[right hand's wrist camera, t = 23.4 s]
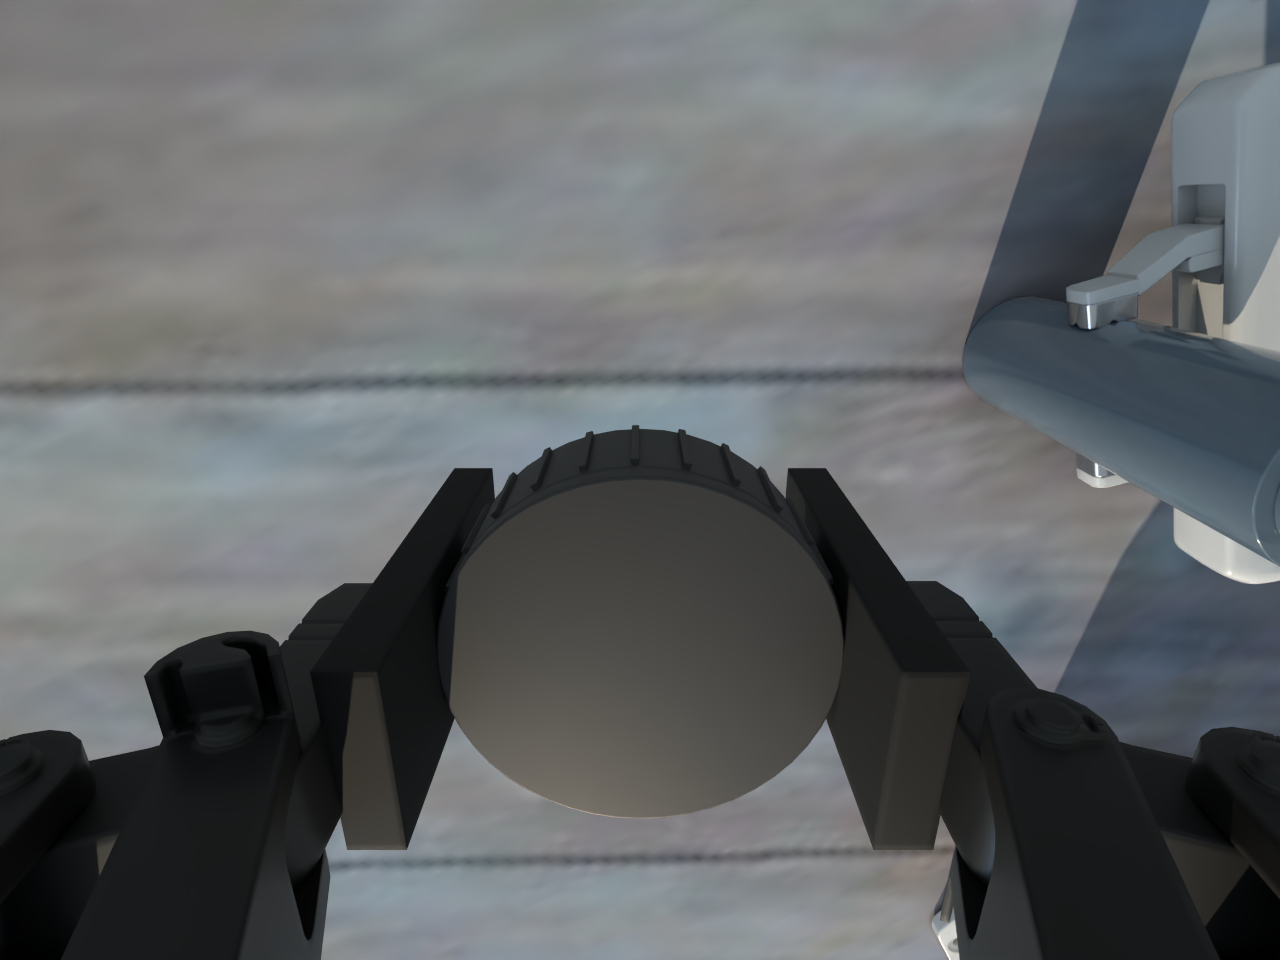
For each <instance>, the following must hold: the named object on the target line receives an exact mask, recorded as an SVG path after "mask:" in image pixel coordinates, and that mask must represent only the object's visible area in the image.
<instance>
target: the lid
mask: <svg viewBox="0 0 1280 960" xmlns="http://www.w3.org/2000/svg"><path fill="white" fill-rule="evenodd" d="M461 552H463V553H462V555H461V557H460V559H459V561H458V563H457V565H456V566H455V568H454V570H453V572H452V574H451V576H450V578H449V580H448V582H447V584H446V586H445V589H444V592H446V596H445V598H444V602H443V605H442V609H441V613H440V617H439V620H438V630H437V640H436V648H437V659H438V668H439V675H440V680H441V685H442V689H443V692H444V694H445V697H446V700H447V702H448V705H449V708H450V710H451V712H452V714H453V715H454V717H455V719H456V721H457V723H458V725H459V726H460V728H461V730H462V731H463V732H464V734H465V735H466V736H467V738H468V739H469V740H470V742H471V743H472V745H473V746H474V747H475V748H476V749H477V750H478V751H479V752H480V753H481V754H482V755H483V756H484V757H485V759H486V760H487V761H488V762H489V763H490V764H492V765H493V766H494V767H495V768H497V769H498V770H499V771H500V772H502V773H503V774H504V775H505V776H506V777H508V778H509V779H511V780H512V781H514V782H516V783H517V784H519V785H520V786H522V787H523V788H525V789H527V790H528V791H531V792H533V793H535V794H537V795H539V796H541V797H543V798H545V799H547V800H549V801H552V802H555V803H557V804H560V805H563V806H566V807H568V808H571V809H575V810H579V811H583V812H587V813H591V814H597V815H604V816H610V817H617V818H639V819H643V818H662V817H671V816H677V815H684V814H690V813H694V812H698V811H701V810H705V809H709V808H713V807H715V806H718V805H721V804H724V803H726V802H729V801H732V800H734V799H736V798H738V797H740V796H742V795H744V794H746V793H748V792H750V791H752V790H754V789H756V788H758V787H759V786H761V785H762V784H764V783H765V782H767V781H768V780H770V779H772V778H773V777H775V776H776V775H777V774H778V773H779V772H781V771H782V770H783V769H784V768H786V767H787V766H788V765H789V764H790V763H792V762H793V761H794V760H795V759H796V757H797V756H798V755H799V754H800V753H801V752H802V751H803V750H804V749H805V748H806V747H807V746H808V745H809V743H810V742H811V740H812V739H813V738H814V736H815V735H816V734H817V732H818V731H819V729H820V728H821V726H822V725H823V723H824V721H825V719H826V717H827V715H828V713H829V712H830V710H831V708H832V705H833V702H834V700H835V697H836V694H837V691H838V689H839V685H840V679H841V672H842V664H843V656H844V644H845V640H844V631H843V622H842V617H841V613H840V610H839V606H838V602H837V599H836V596H835V594H834V591H833V589H832V587H831V584H834V580H833V577H832V575H831V573H830V572H829V570H828V568H827V566H826V564H825V562H824V560H823V558H822V556H821V554H820V552H819V550H818V548H817V547H816V545H815V543H814V541H813V539H812V537H811V535H810V533H809V531H808V529H807V527H806V525H805V523H804V521H803V519H802V517H801V516H800V514H799V512H798V510H797V508H796V506H795V504H794V502H793V500H792V499H791V498H790V497H789V498H787V499H785V497H784V496H783V495H782V494H781V493H780V491H779V490H778V489H777V488H776V487H775V486H774V485H773V483H772V482H771V481H770V479H769V477H768V475H767V473H766V471H765V470H764V469H763V468H762V467H761V466H760V467H759V468H758V469H756V468H755V467H754V466H753V465H751V464H750V463H748V462H747V461H745V460H744V459H742V458H741V457H739V456H737V455H736V454H734V453H733V452H731V451H730V449H729V446H728V445H726V444H724V443H723V444H722V445H721V447H720V446H718V445H716V444H714V443H712V442H709V441H706V440H703V439H700V438H696V437H693V436H690V435H686V431H685V430H681V429H679V430H678V433H676V432H670V431H665V430H650V429H639V425H633V426H632V429H631V430H616V431H610V432H605V433H600V434H595V435H594V434H593V431H591V432H587V433H586V436H585V437H584V438H581V439H578V440H575V441H572V442H569V443H567V444H565V445H563V446H561V447H559V448H556V449H554V450H551V448H550V447H549V448H547V449H545V450H544V452H543V455H542V457H540V458H539V459H537V460H536V461H534V462H533V463H531V464H530V465H528V466H527V467H526V468H525V469H523V470H522V471H521V472H520V473H519V474H518V475H516V474H515V473H514V472H513V473H512V474H511V475H510V476H509V478H508V480H507V482H506V484H505V486H504V488H503V490H502V491H501V492H500V494H499V495H498V496H497V497H496V499H495V500H494V502H493V503H492V505H491V506H490V505H488V504H486V505H485V506H484V508H483V510H482V512H481V514H480V516H479V518H478V519H477V521H476V523H475V525H474V527H473V529H472V531H471V533H470V535H469V537H468V539H467V540H466V542H465V544H464V546H463V548H462V550H461Z"/></svg>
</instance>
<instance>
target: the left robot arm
mask: <svg viewBox="0 0 1280 960" xmlns="http://www.w3.org/2000/svg"><path fill="white" fill-rule="evenodd" d="M1171 177H1172V227H1170V228H1166V229H1163V230H1159V231H1156V232H1153V233H1149V234H1147V235H1146V236H1145V237H1144V238H1143V239H1142V240H1141V241H1140V242H1139V243H1138V244H1137V245H1136V246H1134V247H1133V248H1132V249H1131V250H1130V251H1129V252H1128V253H1127V254H1126V255H1125V256H1124V257H1123V258H1121V259H1120V260H1119V261H1118V262H1117V263H1116V264H1115V265H1114V266H1113V267H1112V268H1111V269H1109V270H1108V271H1107V275H1105V276H1101V277H1098V278H1094V279H1091V280H1087V281H1084V282H1080V283H1077V284H1073V285H1070V286H1068V287H1066V296H1067V313H1068V324H1069V325H1071V326H1075V325H1078V326H1079V327H1080V328H1082V329H1096V328H1101V327H1104V326H1106V325H1109V324H1110V323H1111V322H1112V321H1117V322H1121V321H1127V320H1130V319H1134V318H1137V317H1138V296H1140V295H1141V294H1143V293H1144V292H1145V291H1146V290H1148V289H1149V288H1150V287H1151V286H1153V285H1154V284H1155V283H1156V282H1158V281H1159V280H1160V279H1161V278H1163V277H1164V276H1165V275H1167V274H1168V273H1169V272H1170V271H1172V327H1174V328H1178V329H1183V330H1187V331H1192V332H1196V333H1200V334H1205V335H1209V336H1214V337H1218V338H1222V339H1227V340H1231V341H1236V342H1240V343H1244V344H1249V345H1253V346H1258V347H1262V348H1267V349H1271V350H1275V351H1280V62H1276V63H1272V64H1267V65H1263V66H1259V67H1255V68H1251V69H1247V70H1243V71H1239V72H1235V73H1231V74H1227V75H1223V76H1219V77H1215V78H1212V79H1208V80H1205V81H1203V82H1201V83H1200V84H1198V85H1197V86H1196V87H1195V88H1194V90H1193V91H1192V92H1191V93H1190V94H1189V95H1188V96H1187V97H1186V98H1185V99H1184V100H1183V102H1182V103H1181V104H1180V105H1179V106H1178V107H1177V109H1176V110H1175V111H1174V113H1173V116H1172V120H1171ZM1076 465H1077V476H1078V478H1079V479H1081V480H1083V481H1084V482H1086V483H1087V484H1089V485H1091V486H1092V487H1098V488H1107V487H1111V486H1115V485H1119V484H1123V483H1127V482H1128V481H1126V480H1124V479H1123V478H1121V477H1119V476H1117V475H1115V474H1114V473H1112V472H1110V471H1108V470H1107V469H1105V468H1103V467H1101V466H1099V465H1098V464H1096V463H1094V462H1092V461H1091V460H1089V459H1087V458H1085V457H1083V456H1082V455H1080V454H1078V453H1076ZM1173 534H1174V541H1175V543H1176V545H1177V546H1178V547H1179V548H1180V549H1182V550H1183V551H1184V552H1186V553H1187V554H1189V555H1190V556H1192V557H1193V558H1195V559H1196V560H1198V561H1199V562H1200V563H1202V564H1204V565H1205V566H1207V567H1209V568H1210V569H1212V570H1214V571H1216V572H1218V573H1219V574H1221V575H1223V576H1226V577H1228V578H1230V579H1233V580H1236V581H1239V582H1242V583H1248V584H1262V583H1269V582H1275V581H1280V567H1279V566H1277V565H1276V564H1274V563H1272V562H1270V561H1269V560H1267V559H1265V558H1263V557H1261V556H1260V555H1258V554H1256V553H1254V552H1253V551H1251V550H1249V549H1247V548H1245V547H1244V546H1242V545H1240V544H1238V543H1237V542H1235V541H1233V540H1231V539H1229V538H1228V537H1226V536H1224V535H1222V534H1220V533H1219V532H1217V531H1215V530H1213V529H1212V528H1210V527H1208V526H1206V525H1204V524H1203V523H1201V522H1199V521H1197V520H1196V519H1194V518H1192V517H1190V516H1188V515H1187V514H1185V513H1183V512H1181V511H1180V510H1178V509H1176V508H1174V527H1173ZM940 916H941V911H940V912H938V913H937V914H936V915H935V916H934V918H933V920H932V928H933V930H934V931H935V933H936V935H937V937H938V939H939V941H940V943H941V945H942V947H943V949H944V951H945V953H946V955H947V956H948V958H949V960H960V959H959V950H958V942H957V933H956V925H955V916H954V907H953V910H952V915H951V919H950V923H948V922H944V921H940Z"/></svg>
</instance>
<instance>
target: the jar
mask: <svg viewBox="0 0 1280 960" xmlns="http://www.w3.org/2000/svg"><path fill="white" fill-rule="evenodd" d="M963 372H964V376H965V379H966V381H967V384H968V385H969V387H970V388H971V390H972V391H973V392H974V393H975V394H976V395H977V396H978V397H979V398H980V399H982V400H984V401H985V402H987V403H989V404H991V405H993V406H994V407H996V408H998V409H1000V410H1002V411H1003V412H1005V413H1007V414H1009V415H1010V416H1012V417H1014V418H1016V419H1018V420H1019V421H1021V422H1023V423H1025V424H1026V425H1028V426H1030V427H1032V428H1034V429H1035V430H1037V431H1039V432H1041V433H1042V434H1044V435H1046V436H1048V437H1050V438H1051V439H1053V440H1055V441H1057V442H1058V443H1060V444H1062V445H1064V446H1066V447H1067V448H1069V449H1071V450H1073V451H1074V452H1076V453H1078V454H1080V455H1082V456H1083V457H1085V458H1087V459H1089V460H1091V461H1092V462H1094V463H1096V464H1098V465H1099V466H1101V467H1103V468H1105V469H1107V470H1108V471H1110V472H1112V473H1114V474H1115V475H1117V476H1119V477H1121V478H1123V479H1124V480H1126V481H1128V482H1130V483H1131V484H1133V485H1135V486H1137V487H1139V488H1140V489H1142V490H1144V491H1146V492H1147V493H1149V494H1151V495H1153V496H1155V497H1156V498H1158V499H1160V500H1162V501H1164V502H1165V503H1167V504H1169V505H1171V506H1172V507H1174V508H1176V509H1178V510H1180V511H1181V512H1183V513H1185V514H1187V515H1188V516H1190V517H1192V518H1194V519H1196V520H1197V521H1199V522H1201V523H1203V524H1204V525H1206V526H1208V527H1210V528H1212V529H1213V530H1215V531H1217V532H1219V533H1220V534H1222V535H1224V536H1226V537H1228V538H1229V539H1231V540H1233V541H1235V542H1237V543H1238V544H1240V545H1242V546H1244V547H1245V548H1247V549H1249V550H1251V551H1253V552H1254V553H1256V554H1258V555H1260V556H1261V557H1263V558H1265V559H1267V560H1269V561H1270V562H1272V563H1274V564H1276V565H1277V566H1279V567H1280V351H1275V350H1271V349H1267V348H1262V347H1258V346H1253V345H1249V344H1244V343H1240V342H1236V341H1231V340H1227V339H1222V338H1218V337H1214V336H1209V335H1205V334H1200V333H1196V332H1192V331H1187V330H1183V329H1178V328H1174V327H1170V326H1165V325H1161V324H1156V323H1152V322H1148V321H1143V320H1139V319H1130V320H1127V321H1121V322H1117V321H1112V322H1111V323H1110V324H1109V325H1106V326H1104V327H1101V328H1096V329H1082V328H1080V327H1079V326H1078V325H1075V326H1071V325H1069V324H1068V313H1067V303H1064V302H1060V301H1055V300H1051V299H1046V298H1042V297H1036V296H1024V297H1018V298H1014V299H1011V300H1008V301H1005V302H1003V303H1001V304H999V305H998V306H996V307H994V308H993V309H992V310H990V311H989V312H988V313H986V314H985V315H984V316H983V317H982V318H981V319H980V320H979V322H978V323H977V324H976V325H975V327H974V328H973V330H972V331H971V333H970V335H969V337H968V339H967V342H966V344H965V348H964V352H963Z"/></svg>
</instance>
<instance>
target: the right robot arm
mask: <svg viewBox="0 0 1280 960" xmlns="http://www.w3.org/2000/svg"><path fill="white" fill-rule="evenodd" d="M789 497H790V498H791V499H792V500H793V502H794V504H795V506H796V508H797V510H798V512H799V514H800V516H801V517H802V519H803V521H804V523H805V525H806V527H807V529H808V531H809V533H810V535H811V537H812V539H813V541H814V543H815V545H816V547H817V548H818V550H819V552H820V554H821V556H822V558H823V560H824V562H825V564H826V566H827V568H828V570H829V572H830V573H831V575H832V577H833V580H834V584H831V587H832V589H833V591H834V594H835V596H836V599H837V602H838V606H839V610H840V613H841V617H842V622H843V631H844V640H845V644H844V656H843V664H842V672H841V679H840V685H839V689H838V691H837V694H836V697H835V700H834V702H833V705H832V708H831V710H830V712H829V713H828V715H827V717H826V720H827V723H828V725H829V728H830V731H831V734H832V736H833V739H834V742H835V745H836V747H837V750H838V753H839V756H840V758H841V761H842V764H843V767H844V769H845V772H846V775H847V778H848V780H849V783H850V786H851V789H852V791H853V794H854V797H855V800H856V802H857V805H858V808H859V811H860V814H861V816H862V819H863V822H864V825H865V827H866V830H867V833H868V836H869V838H870V841H871V844H872V847H873V849H874V850H933V848H934V844H935V839H936V834H937V829H938V825H939V820H940V815H941V816H942V818H943V820H944V822H945V824H946V826H947V828H948V830H949V833H950V835H951V837H952V839H953V841H954V843H955V845H956V846H955V850H954V854H953V859H952V863H951V868H950V872H949V877H948V881H947V885H946V890H945V894H944V899H943V903H942V909H941V916H940V921H944V922H948V923H950V919H951V915H952V910H953V907H954V916H955V925H956V933H957V942H958V950H959V959H960V960H1280V737H1279V736H1277V737H1276V736H1273V735H1272V734H1268V733H1264V732H1261V731H1255V730H1249V729H1242V728H1236V727H1227V728H1218V729H1211V730H1210V731H1209V732H1207V733H1206V734H1205V735H1203V736H1202V737H1201V738H1200V741H1199V743H1198V746H1197V749H1196V752H1195V754H1194V757H1193V758H1189V757H1184V756H1180V755H1175V754H1170V753H1166V752H1161V751H1156V750H1151V749H1147V748H1142V747H1137V746H1133V745H1129V744H1125V743H1122V742H1119V740H1118V738H1117V736H1116V735H1115V734H1114V732H1113V731H1112V730H1111V728H1110V727H1109V726H1108V724H1107V723H1106V722H1105V721H1104V720H1103V719H1102V718H1100V717H1099V716H1098V715H1096V714H1095V713H1094V712H1092V711H1091V710H1090V709H1088V708H1087V707H1086V706H1084V705H1082V704H1080V703H1077V702H1075V701H1073V700H1071V699H1069V698H1067V697H1065V696H1063V695H1059V694H1056V693H1052V692H1048V691H1045V690H1041V689H1038V688H1037V687H1036V686H1035V685H1034V683H1033V682H1032V681H1031V680H1030V679H1029V677H1028V676H1027V675H1026V674H1025V673H1024V671H1023V670H1022V669H1021V668H1020V667H1019V665H1018V664H1017V663H1016V662H1015V660H1014V659H1013V658H1012V657H1011V656H1010V654H1009V653H1008V652H1007V651H1006V650H1005V648H1004V647H1003V646H1002V645H1001V644H1000V642H999V641H998V640H997V639H996V638H993V637H992V633H991V631H990V630H989V629H988V628H987V627H986V625H985V624H984V623H983V622H982V621H979V617H978V616H977V614H976V613H975V612H974V611H973V610H972V608H971V607H970V606H969V605H968V604H967V602H966V601H965V600H964V599H963V598H962V597H961V596H959V595H957V594H956V593H954V592H953V591H951V590H949V589H948V588H946V587H945V586H943V585H942V584H940V583H938V582H937V581H906V580H905V579H904V578H903V576H902V575H901V573H900V572H899V571H898V569H897V568H896V566H895V565H894V564H893V562H892V561H891V559H890V558H889V557H888V555H887V554H886V552H885V551H884V550H883V548H882V547H881V545H880V544H879V543H878V541H877V540H876V538H875V537H874V535H873V534H872V533H871V531H870V530H869V528H868V527H867V526H866V524H865V523H864V521H863V520H862V519H861V517H860V516H859V514H858V513H857V512H856V510H855V509H854V507H853V506H852V505H851V503H850V502H849V500H848V499H847V497H846V496H845V495H844V493H843V492H842V490H841V489H840V488H839V486H838V485H837V483H836V482H835V481H834V479H833V478H832V476H831V475H830V474H829V472H828V471H827V469H826V468H788V476H787V488H786V499H787V498H789ZM494 500H495V494H494V482H493V470H492V468H455V469H454V470H453V471H452V473H451V474H450V476H449V477H448V478H447V480H446V481H445V483H444V484H443V485H442V487H441V488H440V490H439V491H438V492H437V494H436V495H435V497H434V498H433V499H432V501H431V502H430V504H429V505H428V507H427V508H426V509H425V511H424V512H423V514H422V515H421V516H420V518H419V519H418V521H417V522H416V523H415V525H414V526H413V528H412V529H411V530H410V532H409V533H408V535H407V536H406V538H405V539H404V540H403V542H402V543H401V545H400V546H399V547H398V549H397V550H396V552H395V553H394V554H393V556H392V557H391V559H390V560H389V561H388V563H387V564H386V566H385V567H384V568H383V570H382V571H381V573H380V574H379V576H378V577H377V578H376V580H375V581H374V583H344V584H343V585H341V586H340V587H338V588H337V589H335V590H333V591H332V592H330V593H329V594H327V595H325V596H324V597H322V598H321V599H319V600H318V601H317V602H316V603H315V605H314V606H313V607H312V608H311V609H310V611H309V612H308V613H307V614H306V616H305V617H304V618H303V619H302V624H298V625H297V627H296V628H295V629H294V630H293V631H292V633H291V634H290V635H289V639H288V640H285V641H284V642H283V644H282V645H281V646H280V647H279V642H277V641H276V640H275V639H274V638H272V637H271V636H270V635H268V634H264V633H259V632H254V631H237V632H226V633H221V634H217V635H213V636H209V637H205V638H201V639H199V640H196V641H194V642H191V643H189V644H187V645H184V646H182V647H179V648H177V649H176V650H174V651H172V652H171V653H169V654H168V655H166V656H165V657H163V658H162V659H160V660H159V661H157V662H156V663H155V664H154V665H153V667H152V668H151V669H150V670H149V671H148V672H147V673H146V674H145V676H144V678H145V681H146V684H147V687H148V691H149V694H150V697H151V700H152V703H153V706H154V710H155V713H156V716H157V719H158V722H159V725H160V728H161V732H162V735H163V739H162V742H161V744H160V745H159V746H155V747H152V748H148V749H143V750H139V751H134V752H129V753H125V754H120V755H115V756H111V757H106V758H101V759H97V760H92V761H88V758H87V755H86V753H85V750H84V747H83V744H82V742H81V740H80V739H78V738H77V737H76V736H74V735H73V734H72V733H70V732H64V731H55V730H46V731H40V732H33V733H27V734H22V735H18V736H14V737H10V738H9V739H6V740H5V739H4V740H1V741H0V960H321V952H322V944H323V935H324V927H325V918H326V909H327V901H328V892H329V884H330V871H329V864H328V859H327V855H326V850H325V847H326V845H327V843H328V841H329V839H330V837H331V835H332V833H333V831H334V829H335V827H336V825H337V823H338V821H339V819H340V818H341V822H342V827H343V832H344V837H345V841H346V846H347V850H407V848H408V845H409V842H410V839H411V837H412V834H413V831H414V828H415V826H416V823H417V820H418V817H419V815H420V812H421V809H422V806H423V804H424V801H425V798H426V795H427V793H428V790H429V787H430V784H431V782H432V779H433V776H434V773H435V771H436V768H437V765H438V762H439V760H440V757H441V754H442V751H443V749H444V746H445V743H446V740H447V738H448V735H449V732H450V729H451V727H452V724H453V721H454V718H455V717H454V715H453V714H452V712H451V710H450V708H449V705H448V702H447V700H446V697H445V694H444V692H443V689H442V685H441V680H440V675H439V668H438V659H437V648H436V640H437V630H438V620H439V617H440V613H441V609H442V605H443V602H444V598H445V596H446V592H444V589H445V586H446V584H447V582H448V580H449V578H450V576H451V574H452V572H453V570H454V568H455V566H456V565H457V563H458V561H459V559H460V557H461V555H462V553H463V552H461V550H462V548H463V546H464V544H465V542H466V540H467V539H468V537H469V535H470V533H471V531H472V529H473V527H474V525H475V523H476V521H477V519H478V518H479V516H480V514H481V512H482V510H483V508H484V506H485V505H486V504H488V505H490V506H491V505H492V503H493V502H494Z"/></svg>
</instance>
